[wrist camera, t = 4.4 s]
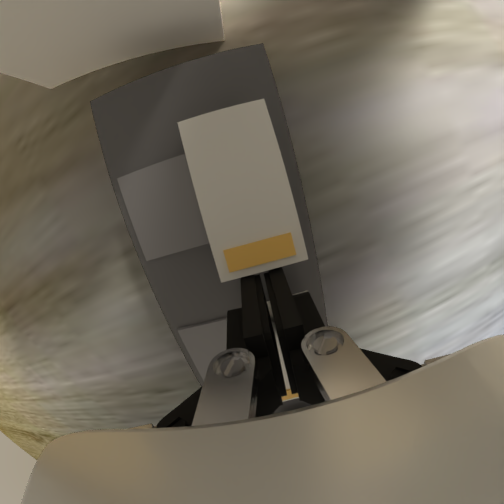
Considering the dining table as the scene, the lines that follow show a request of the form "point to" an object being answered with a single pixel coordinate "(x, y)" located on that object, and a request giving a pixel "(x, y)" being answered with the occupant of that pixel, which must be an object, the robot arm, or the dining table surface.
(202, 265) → the power strip
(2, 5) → the milk
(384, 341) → the dining table surface
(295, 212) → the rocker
